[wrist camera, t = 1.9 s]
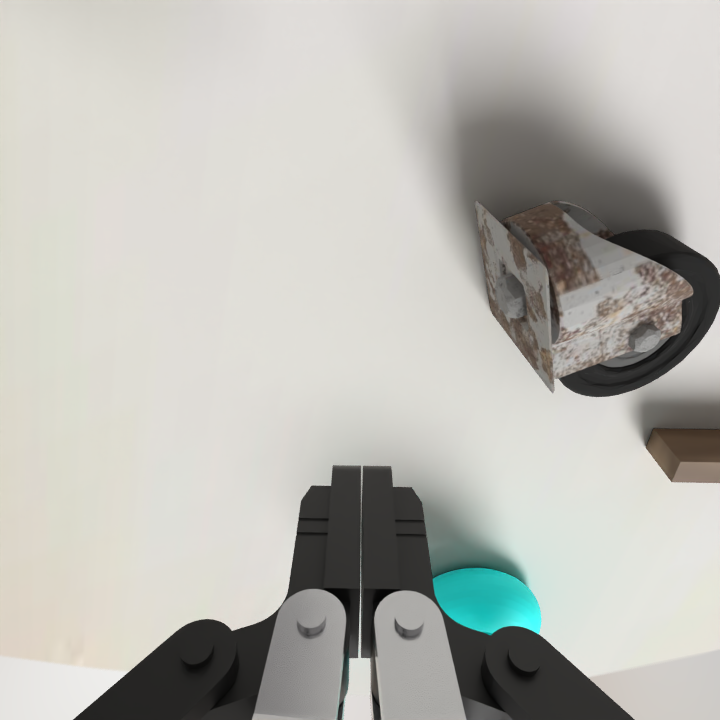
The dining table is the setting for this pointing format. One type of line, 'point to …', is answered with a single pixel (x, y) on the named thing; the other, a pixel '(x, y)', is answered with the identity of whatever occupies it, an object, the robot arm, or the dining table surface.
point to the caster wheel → (595, 297)
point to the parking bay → (687, 454)
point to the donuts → (487, 600)
